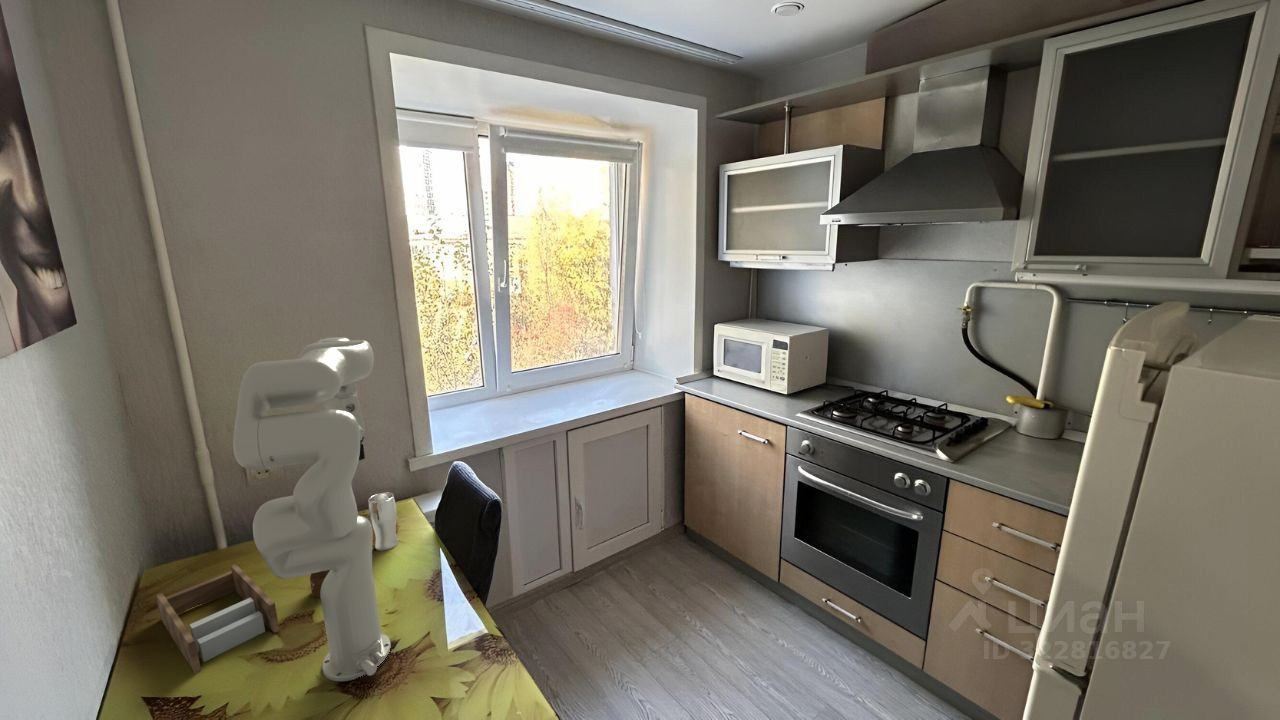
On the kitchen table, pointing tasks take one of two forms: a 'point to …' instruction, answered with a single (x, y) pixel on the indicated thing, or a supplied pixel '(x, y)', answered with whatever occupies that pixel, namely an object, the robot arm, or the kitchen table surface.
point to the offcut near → (221, 619)
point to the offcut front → (230, 636)
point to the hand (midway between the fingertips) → (348, 456)
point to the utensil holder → (317, 582)
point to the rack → (206, 593)
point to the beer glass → (383, 520)
